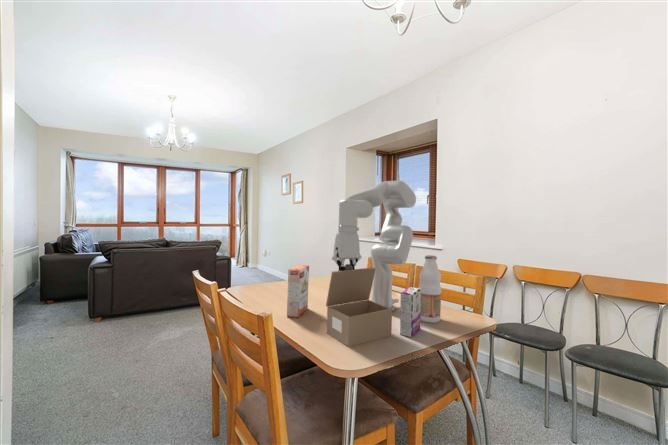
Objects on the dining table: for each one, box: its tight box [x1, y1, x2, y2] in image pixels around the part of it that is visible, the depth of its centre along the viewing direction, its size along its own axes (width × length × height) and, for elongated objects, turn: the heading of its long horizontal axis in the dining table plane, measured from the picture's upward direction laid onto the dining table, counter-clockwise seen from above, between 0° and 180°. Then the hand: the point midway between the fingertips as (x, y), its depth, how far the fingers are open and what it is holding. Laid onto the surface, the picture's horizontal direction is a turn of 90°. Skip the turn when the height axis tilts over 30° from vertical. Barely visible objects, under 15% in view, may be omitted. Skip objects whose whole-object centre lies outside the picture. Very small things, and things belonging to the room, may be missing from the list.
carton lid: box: [325, 263, 376, 307], centre depth 121 cm, size 20×14×7 cm
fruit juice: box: [418, 254, 442, 324], centre depth 133 cm, size 9×9×28 cm
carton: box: [326, 299, 393, 348], centre depth 115 cm, size 20×14×10 cm
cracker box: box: [286, 264, 310, 318], centre depth 138 cm, size 14×6×21 cm, turn 168°
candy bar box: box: [399, 286, 422, 338], centre depth 118 cm, size 11×5×16 cm, turn 148°
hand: (346, 275), depth 122 cm, fingers closed on carton lid, 4 cm apart
